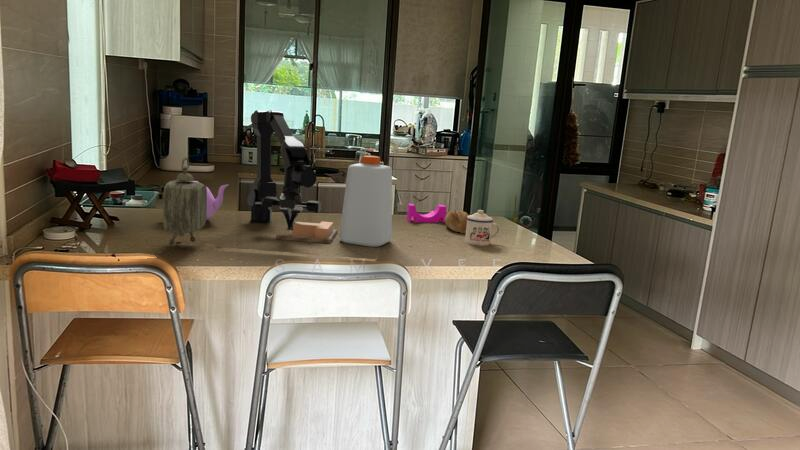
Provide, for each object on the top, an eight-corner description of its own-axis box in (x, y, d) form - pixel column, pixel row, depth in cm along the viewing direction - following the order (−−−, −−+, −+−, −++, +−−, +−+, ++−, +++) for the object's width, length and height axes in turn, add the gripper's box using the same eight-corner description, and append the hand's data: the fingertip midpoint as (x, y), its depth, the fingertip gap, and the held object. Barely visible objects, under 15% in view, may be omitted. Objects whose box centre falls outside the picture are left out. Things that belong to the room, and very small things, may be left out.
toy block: (440, 222, 245) (441, 204, 244) (445, 225, 239) (446, 206, 238) (404, 221, 241) (406, 202, 240) (408, 224, 235) (410, 205, 234)
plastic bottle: (377, 249, 188) (384, 159, 183) (334, 242, 193) (339, 155, 188) (395, 240, 202) (401, 157, 197) (354, 234, 207) (359, 153, 202)
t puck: (290, 238, 194) (290, 226, 193) (297, 231, 205) (298, 219, 205) (327, 241, 193) (327, 228, 193) (332, 233, 205) (333, 222, 204)
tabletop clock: (176, 235, 185) (177, 154, 180) (207, 237, 186) (208, 156, 181) (163, 246, 171) (163, 158, 166) (195, 248, 172) (196, 160, 167)
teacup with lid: (467, 245, 203) (470, 211, 200) (461, 239, 212) (464, 207, 209) (501, 247, 204) (505, 213, 202) (494, 241, 213) (498, 209, 211)
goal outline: (275, 239, 191) (276, 235, 190) (288, 228, 209) (288, 224, 209) (329, 243, 190) (329, 239, 190) (337, 232, 208) (337, 228, 208)
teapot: (232, 218, 220) (233, 180, 217) (223, 226, 205) (224, 186, 202) (170, 214, 218) (170, 176, 215) (157, 222, 202) (157, 182, 200)
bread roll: (451, 235, 219) (453, 213, 217) (439, 227, 233) (441, 206, 232) (475, 235, 221) (478, 214, 220) (462, 227, 235) (464, 207, 234)
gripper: (258, 183, 189) (255, 231, 191) (316, 188, 188) (313, 237, 191) (266, 179, 200) (264, 225, 202) (322, 184, 199) (319, 230, 202)
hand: (290, 229), depth 199 cm, fingers closed
